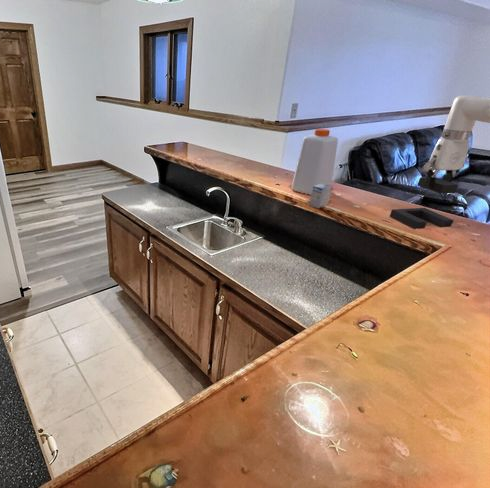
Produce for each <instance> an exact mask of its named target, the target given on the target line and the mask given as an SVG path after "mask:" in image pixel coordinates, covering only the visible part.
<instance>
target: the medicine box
mask: <svg viewBox="0 0 490 488" xmlns="http://www.w3.org/2000/svg"><path fill="white" fill-rule="evenodd" d="M332 189H333V185H332V184H331V185H329V184H325V183H322V184H319V185H316V186H314V187H313V190H312V195H310V200H309V206H310V207H313V208H316V209H320V208H323V207H324V206H325V207H326V206H327V205H329V202H330V198H331V193H332Z"/></svg>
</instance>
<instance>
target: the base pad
mask: <svg viewBox="0 0 490 488" xmlns="http://www.w3.org/2000/svg"><path fill="white" fill-rule="evenodd" d="M389 217H390V218H392V219H394V220H395V221H398V222H399V223H402V224H403V225H405V226H407V227H409V228H411V229H413V230H423V229H425V228H426V226H427V223H430V224H432V225H435V226H437V227H439V228H451V227H452V226H453V223H454V219H452V218H450V217H447V216H445V215H443V214H440V213H438V212H436V211H433V210H431V209H429V208H427V207H412V208H396V209H395V208H393V209H391V210H390V214H389Z"/></svg>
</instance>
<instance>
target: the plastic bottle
mask: <svg viewBox="0 0 490 488" xmlns="http://www.w3.org/2000/svg"><path fill="white" fill-rule="evenodd" d="M330 133H331V132H330V130H329V129H327V128H316V129H315V130H314V133H313V134H310V135H306V136H304V137H303V140H302V144H301V148H300V150H299V151H300V152H299V155H298V160H297V164H296V167H295V171H294V175H293V179H292V183H291V190H292V191H293V190H294V192H296V191H298V192H297V193H299V192H301V193H300V194H303V193H305V194H304V195H307V194H309V195H308V196H311V195H312V190H313V187H314V186H316V185H319V184H322V183H325V184H329V185H332V183H333V176H334V170H335V162H336V157H337V151H338V150H337V149H338V142H339V138H338V137H337V136H332V135H330Z"/></svg>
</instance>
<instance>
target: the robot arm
mask: <svg viewBox="0 0 490 488" xmlns="http://www.w3.org/2000/svg"><path fill="white" fill-rule="evenodd" d="M476 122H481V123H487V124H490V97H482V96H480V95H457V96H456V97H455V98H454V99H453V102H452V105H451V108H450V110H449V113H448V115H447V119H446V121H445V125H444V126H443V130H442V132H441V133H440V138H438V141H437V142H436V144H435V146H434V148H433V150H432V153H431V155H430V158H429V160H428V161H427V162H426V163H425V164H424V165H423V169H424V171H425V175H426V177H427V178H426V181H425V184H424V186H425V187H428V188H433V186H434V183H435V180H436V178H437V177H436V176H437V175H438V173H439V172H440V171H445V174H443V175H442V178H441V179H442V180H445V181H448V182H451V183H452V181H453V178H454V177H455V176H456V175H457V174H458V173H459V172H460V171H461V170H462V169H463V168H464V167H465V165H466V164H465V161H466V159H467V155H468V152H469V148H470V137H471V134H472V131H473V129H474V126H475V123H476Z"/></svg>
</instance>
